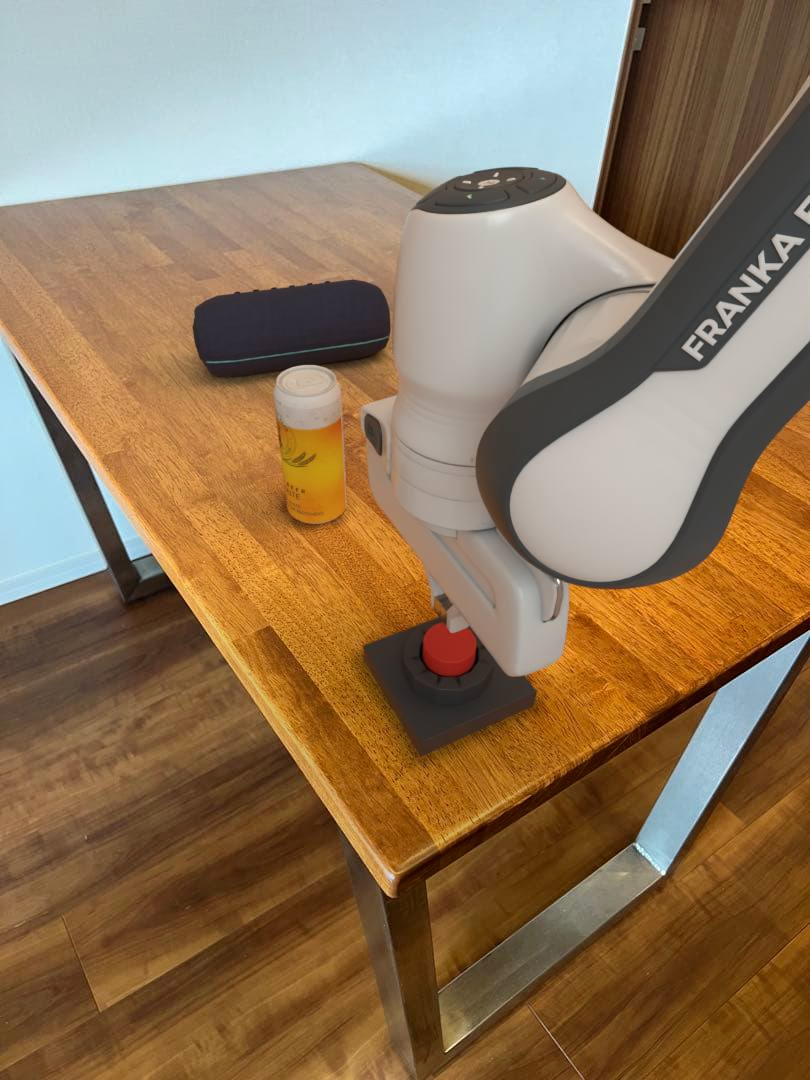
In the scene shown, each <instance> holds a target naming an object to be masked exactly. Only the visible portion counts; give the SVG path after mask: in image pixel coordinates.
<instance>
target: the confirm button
mask: <svg viewBox="0 0 810 1080" xmlns="http://www.w3.org/2000/svg"><path fill="white" fill-rule="evenodd" d="M475 653H476V638H475V636H474V634H473V633H472V632H471V631H470V630H469V629H468V628H466V629H463V630H460V631H458V632H455V633H450V631H449V630H448V629H447V627H446V626H445V624H444V623H439V624H436V625H434V626H432V627H431V628H430V629H429V630H428V631H427V632H426V634H425V636H424V640H423V660H424V662H425V664H426V666H427V667H428V668H429V669H430V670H431V671H432V672H434V673H436V674H438V675H441V676H446V677H455V676H459V675H462V674H464V673H466V672H467V671H468V670H469V669H470V668H471V667H472V666H473V664H474V660H475Z"/></svg>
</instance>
